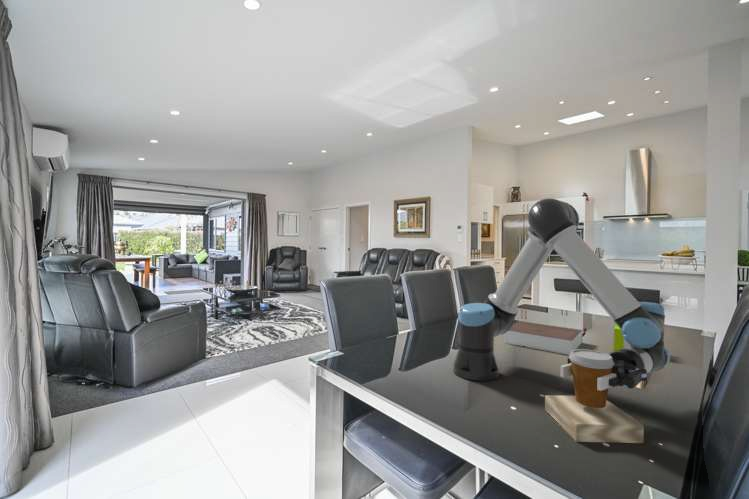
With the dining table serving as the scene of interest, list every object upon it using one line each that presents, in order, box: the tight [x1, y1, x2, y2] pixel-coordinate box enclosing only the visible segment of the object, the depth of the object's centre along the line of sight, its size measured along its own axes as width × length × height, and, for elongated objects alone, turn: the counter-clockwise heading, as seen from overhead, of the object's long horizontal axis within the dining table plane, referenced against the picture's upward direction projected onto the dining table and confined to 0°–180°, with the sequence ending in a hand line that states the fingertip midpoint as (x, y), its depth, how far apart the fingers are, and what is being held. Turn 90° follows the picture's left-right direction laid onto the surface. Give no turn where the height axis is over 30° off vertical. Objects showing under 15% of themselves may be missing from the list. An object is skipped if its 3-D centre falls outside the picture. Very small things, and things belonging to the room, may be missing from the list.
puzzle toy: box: [613, 323, 631, 351], centre depth 147 cm, size 10×10×10 cm
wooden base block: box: [544, 394, 645, 444], centre depth 86 cm, size 15×15×4 cm
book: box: [502, 320, 583, 356], centre depth 158 cm, size 24×28×7 cm
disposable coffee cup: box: [568, 348, 614, 408], centre depth 86 cm, size 10×10×12 cm
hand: (579, 377), depth 83 cm, fingers closed on disposable coffee cup, 8 cm apart
